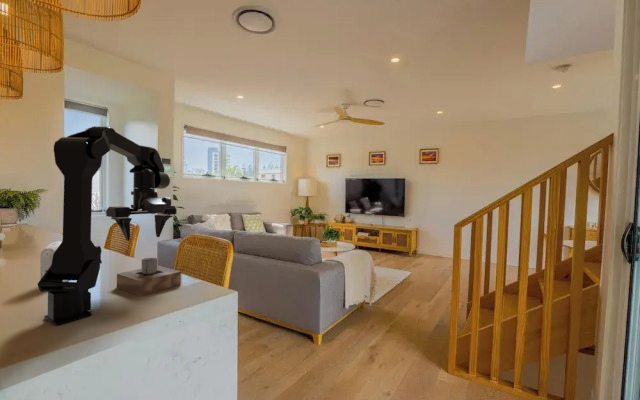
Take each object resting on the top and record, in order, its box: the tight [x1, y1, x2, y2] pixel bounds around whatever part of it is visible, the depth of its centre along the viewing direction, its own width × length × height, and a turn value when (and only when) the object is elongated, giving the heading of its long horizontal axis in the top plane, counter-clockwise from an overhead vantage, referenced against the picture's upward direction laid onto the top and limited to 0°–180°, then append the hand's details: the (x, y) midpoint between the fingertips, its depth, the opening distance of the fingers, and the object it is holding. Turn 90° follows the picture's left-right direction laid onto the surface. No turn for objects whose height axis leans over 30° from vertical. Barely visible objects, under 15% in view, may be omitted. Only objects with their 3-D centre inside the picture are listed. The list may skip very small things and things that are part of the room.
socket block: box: [116, 265, 182, 297], centre depth 89 cm, size 12×12×4 cm
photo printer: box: [39, 240, 69, 282], centre depth 89 cm, size 10×4×12 cm, turn 17°
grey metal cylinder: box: [141, 257, 158, 276], centre depth 89 cm, size 4×4×8 cm
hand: (143, 238), depth 94 cm, fingers open, 9 cm apart
